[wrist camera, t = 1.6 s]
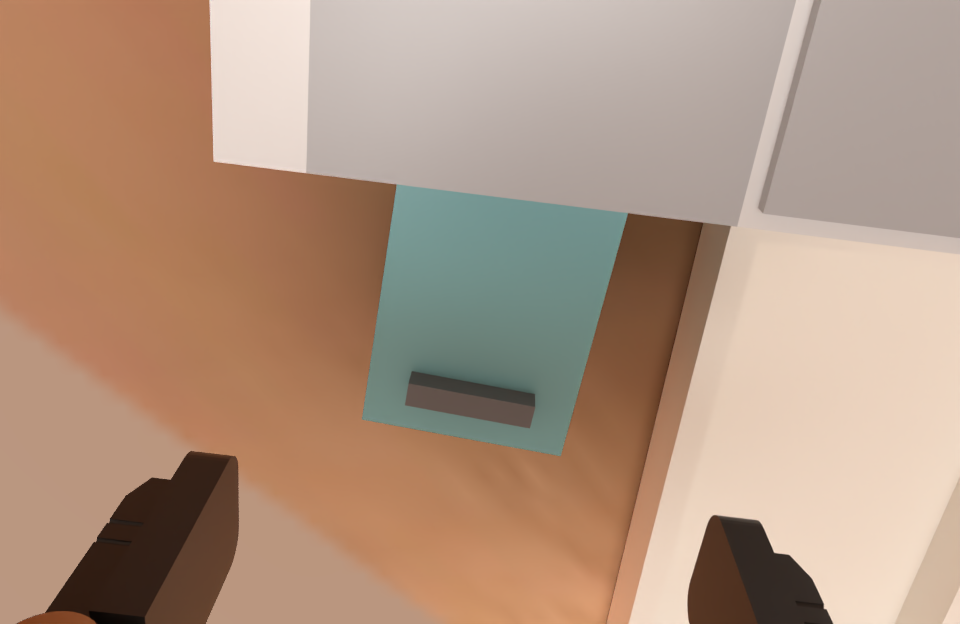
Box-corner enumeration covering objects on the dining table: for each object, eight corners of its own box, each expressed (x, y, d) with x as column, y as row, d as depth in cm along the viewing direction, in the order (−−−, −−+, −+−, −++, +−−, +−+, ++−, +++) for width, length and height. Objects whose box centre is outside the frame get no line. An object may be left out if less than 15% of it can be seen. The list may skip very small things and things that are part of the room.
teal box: (668, -110, 20) (730, -132, 14) (552, 346, 26) (561, 470, 20) (470, -152, 20) (449, -192, 14) (396, 316, 25) (357, 432, 19)
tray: (1084, 226, 23) (1149, 258, 21) (884, 670, 30) (914, 732, 28) (713, 180, 23) (735, 207, 20) (603, 636, 30) (610, 695, 28)
